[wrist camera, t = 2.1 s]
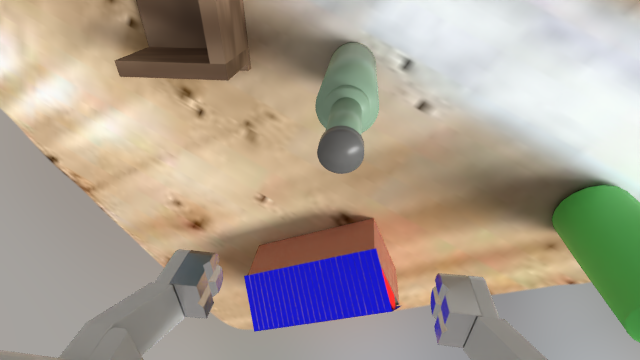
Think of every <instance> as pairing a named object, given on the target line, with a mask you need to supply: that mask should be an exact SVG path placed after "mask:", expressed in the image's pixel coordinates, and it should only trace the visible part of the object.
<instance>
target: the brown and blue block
mask: <svg viewBox="0 0 640 360" xmlns="http://www.w3.org/2000/svg"><path fill="white" fill-rule="evenodd" d="M244 277H245V283H246V288H247V294H248V299H249V304H250V310H251V315H252V321H253V326H254V331H261V330H268V329H275V328H282V327H289V326H296V325H303V324H309V323H316V322H323V321H330V320H337V319H344V318H351V317H358V316H364V315H371V314H378V313H385V312H392V311H394V310H395V309H397V308H399V307H400V306H397V305H399V298H398V287H397V276H396V269H395V266H394V264H393V262H392V259H391V257H390V255H389V253H388V250H387V248H386V246H385V243H384V241H383V239H382V236H381V234H380V232H379V229H378V227H377V225H376V222H375V220H374V218H372V219H368V220H364V221H359V222H355V223H351V224H347V225H343V226H339V227H334V228H330V229H326V230H322V231H318V232H314V233H309V234H305V235H301V236H297V237H293V238H289V239H284V240H280V241H276V242H272V243H268V244H264V245H259V248H258V250H257V253H256V255H255V258H254V261H253V263H252V266H251V269H250V271H249V274H248V275H247V276H244Z"/></svg>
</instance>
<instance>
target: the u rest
mask: <svg viewBox="0 0 640 360" xmlns="http://www.w3.org/2000/svg"><path fill="white" fill-rule="evenodd" d="M136 2H137V5H138V9H139V12H140V16H141V20H142V23H143V27H144V30H145V34H146V38H147V41H148V45H149V47H148V48H145V49H143V50H140V51H138V52H135V53H133V54H130V55H128V56H125V57H123V58H120V59H118V60H115V63H116V66H117V69H118V72H119V75H120V77H148V78H175V79H203V80H229V79H230V78H231V77H233V76H234V75H235V74H236V73H237V72H238V71H248V70H250V69H251V66H250V57H249V49H248V40H247V32H246V23H245V15H244V6H243V0H136Z"/></svg>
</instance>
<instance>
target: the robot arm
mask: <svg viewBox="0 0 640 360" xmlns="http://www.w3.org/2000/svg"><path fill="white" fill-rule="evenodd" d="M219 261H220V259H219V255H218V254H217V253H210V252H201V251H193V250H183V249H178V250H177V251H176V252H175V253H174V254H173V256H172V257H171V259H170V260H169V262H168V263H167V265H166V266H165V268H164V269H163V271H162V272H161V274H160V275H159V277H158V278H157V280H156V281H155V283H149V284H148V285H146V286H144V287H143V288H141V289H139V290H138V291H136V292H135V293H133V294H131V295H130V296H128V297H127V298H125V299H123V300H122V301H120V302H119V303H117V304H115V305H114V306H112V307H111V308H109V309H107V310H106V311H104V312H103V313H101V314H99V315H98V316H96V317H94V318H93V319H91V320H90V321H88V322H87V323H85V325H84V326H83V327H82V329H81V330H80V331H79V332H78V334H77V335H76V336H75V337H74V339H73V340H72V341H71V343H70V344H69V345H68V346H67V348H66V349H65V350H64V351H63V353H62V354H61V355H60V357H59V358H55V357H48V356H40V355H33V354H25V353H17V352H9V351H3V350H0V360H143V358H142V356H143V355H144V354H145V353H146V352H147V351H148V350H149V349H150V348H152V347H153V346H154V345H155V344H156V343H157V342H158V341H159V340H161V339H162V338H163V337H164V336H165V335H166V334H167V333H168V332H169V331H171V330H172V329H173V328H174V327H175V326H176V325H177V324H179V323H180V322H181V321H182V320H183V319H184V318H185V317H195V318H207V317H208V315H209V312H210V310H211V308H212V306H213V304H214V302H213V298H212V297H213V296H215V295H216V294H217V293H219V290H220V288H221V285H222V280H223V271H222V268H221V267H220V266H219V265H218V263H219ZM435 282H436V287H434V288H433V289H432V293H431V310H432V315H433V316H434V317H435V318H436V323H435V332H436V337H437V343H438V345H444V346H452V347H459V348H464V349H463V350H464V351H465V353H466V354H467V355H468V356H469V358H470V359H471V360H547V359H546V358H545V357H544V356H543V355H542V354H541V353H540V352H539V351H538V350H537V349H536V348H534V346H532V345H531V344H530V343H529V342H528V341H527V340H526V339H525V338H524V337H523V336H522V335H521V334H520V333H518V332H517V331H516V330H515V329H514V328H513V327H512V326H511V325H510V324H509V323H508V322H507V321H506V320H505V319H500V318H499V316H498V313H497V310H496V308H495V305H494V303H493V300H492V297H491V294H490V292H489V289H488V286H487V284H486V281H485V279H484V278H483V277H475V276H466V275H453V274H441V273H438V274H437V276H436V279H435Z"/></svg>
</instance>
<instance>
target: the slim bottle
mask: <svg viewBox="0 0 640 360" xmlns="http://www.w3.org/2000/svg"><path fill="white" fill-rule="evenodd" d="M378 111H379V99H378V86H377V74H376V62H375V58H374V55H373V53H372V52H371V51H370V50H369V48H367V47H366V46H364V45H363V44H360V43H347V44H344V45H342V46H340V47H339V48H338V49H337V50H336V51H335V52H334V54H333V55H332V58H331V60H330V63H329V66H328V68H327V71H326V74H325V77H324V79H323V82H322V85H321V87H320V90H319V93H318V96H317V99H316V113H317V116H318V119H319V121H320V122H321V124H322V125H323V126H324V127H325V128H326V131H325V132H324V134H323V135H322V137H321V139H320V142H319V146H318V151H317V154H318V159H319V161H320V163H321V164H322V165H323V166H324V167H325V168H326V169H327V170H329V171H331V172H334V173H339V174H343V173H349V172H352V171H354V170H355V169H357V168H358V167H359V166H360V164H361V163H362V161H363V158H364V141H363V139H362V137H361V133H363V132H364V131H366V130H367V129H368V128H370V127H371V126H372V124H373V123H374V122H375V120H376V118H377V115H378Z"/></svg>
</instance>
